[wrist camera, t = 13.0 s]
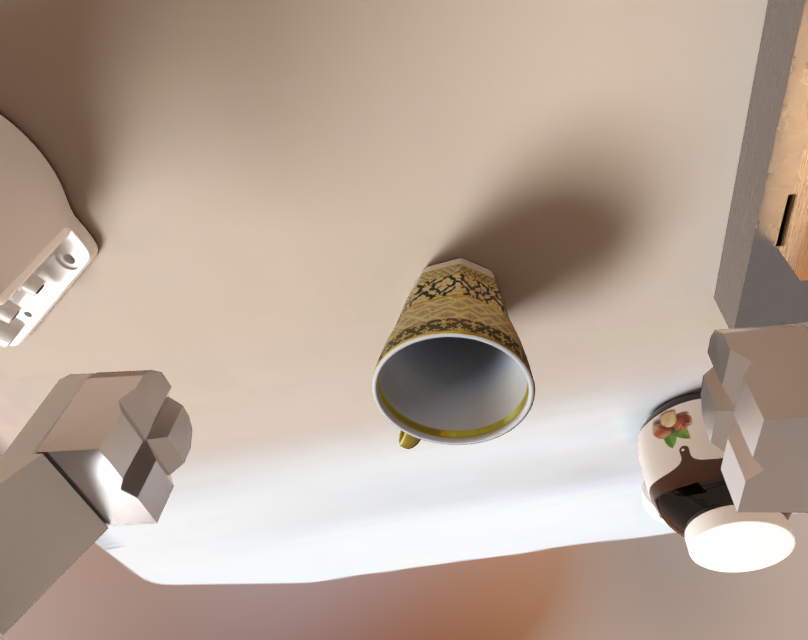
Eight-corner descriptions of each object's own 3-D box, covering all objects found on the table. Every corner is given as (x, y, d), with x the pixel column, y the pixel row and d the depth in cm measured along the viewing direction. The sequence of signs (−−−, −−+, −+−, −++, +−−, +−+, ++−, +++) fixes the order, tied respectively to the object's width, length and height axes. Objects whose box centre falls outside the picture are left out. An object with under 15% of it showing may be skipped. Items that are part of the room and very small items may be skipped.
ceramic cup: (423, 215, 41) (412, 308, 33) (551, 271, 43) (568, 372, 35) (355, 341, 49) (333, 439, 41) (465, 383, 51) (463, 485, 43)
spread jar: (743, 370, 47) (806, 501, 38) (783, 450, 52) (846, 580, 43) (597, 420, 52) (622, 545, 43) (647, 488, 57) (679, 612, 49)
